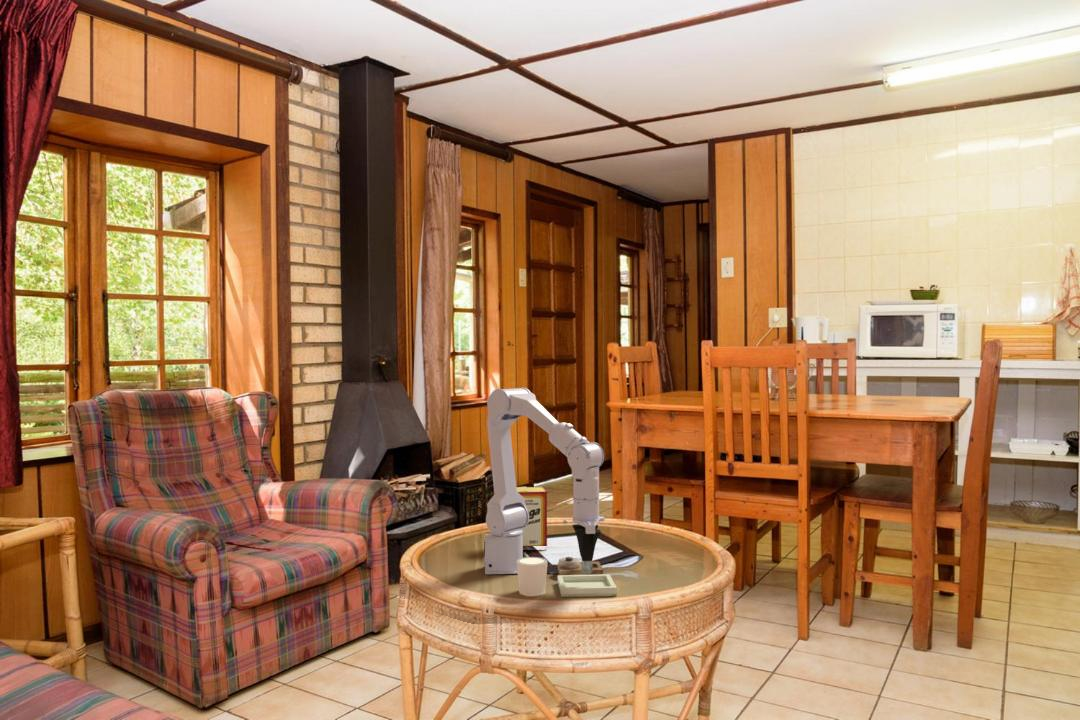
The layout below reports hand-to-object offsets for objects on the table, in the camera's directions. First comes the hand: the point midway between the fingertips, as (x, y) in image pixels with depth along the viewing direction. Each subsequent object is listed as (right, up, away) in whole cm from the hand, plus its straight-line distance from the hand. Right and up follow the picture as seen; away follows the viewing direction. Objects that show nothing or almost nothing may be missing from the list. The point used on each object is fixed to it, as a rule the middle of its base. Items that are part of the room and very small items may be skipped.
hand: (586, 558), depth 173 cm
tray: (0, -7, 0) cm, 7 cm away
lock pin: (0, -3, 0) cm, 3 cm away
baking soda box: (-14, -7, +37) cm, 40 cm away
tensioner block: (-1, -7, +12) cm, 13 cm away
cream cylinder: (-12, -7, -2) cm, 14 cm away
